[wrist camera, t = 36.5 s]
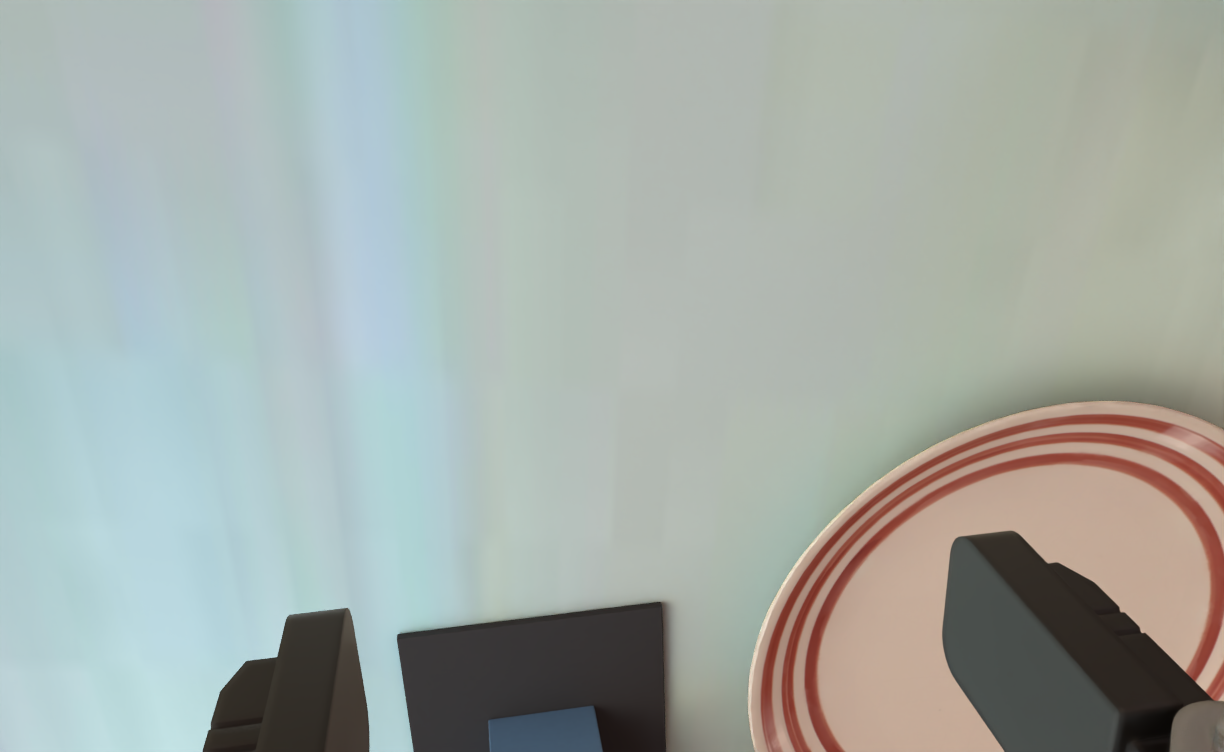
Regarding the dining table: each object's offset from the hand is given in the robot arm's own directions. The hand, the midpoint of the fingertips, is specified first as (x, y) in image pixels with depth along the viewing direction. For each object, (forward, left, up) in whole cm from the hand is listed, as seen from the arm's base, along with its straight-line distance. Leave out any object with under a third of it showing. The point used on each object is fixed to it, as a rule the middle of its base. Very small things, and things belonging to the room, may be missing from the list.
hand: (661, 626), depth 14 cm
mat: (+1, +29, -28) cm, 40 cm away
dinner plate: (-22, +24, -28) cm, 43 cm away
